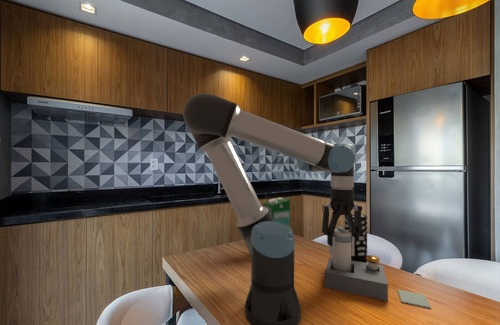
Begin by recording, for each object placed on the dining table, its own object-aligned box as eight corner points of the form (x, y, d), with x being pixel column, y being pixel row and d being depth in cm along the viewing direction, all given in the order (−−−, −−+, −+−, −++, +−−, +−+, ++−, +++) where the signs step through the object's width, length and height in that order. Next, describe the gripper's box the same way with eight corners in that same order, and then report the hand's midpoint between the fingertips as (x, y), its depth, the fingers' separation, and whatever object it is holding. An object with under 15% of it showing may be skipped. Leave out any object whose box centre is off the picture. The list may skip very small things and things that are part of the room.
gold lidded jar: (379, 280, 76) (379, 260, 76) (366, 277, 78) (366, 258, 78) (379, 275, 80) (378, 256, 80) (366, 272, 82) (366, 254, 82)
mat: (430, 308, 65) (430, 307, 65) (401, 302, 68) (401, 301, 68) (424, 296, 71) (424, 294, 71) (397, 290, 74) (397, 289, 74)
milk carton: (262, 251, 108) (262, 197, 108) (279, 248, 112) (279, 196, 112) (272, 258, 100) (272, 200, 100) (290, 255, 103) (290, 199, 104)
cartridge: (354, 278, 78) (354, 230, 78) (337, 279, 77) (337, 231, 77) (345, 270, 84) (346, 226, 84) (329, 270, 83) (329, 226, 83)
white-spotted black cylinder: (348, 259, 99) (348, 212, 99) (369, 264, 94) (369, 215, 94) (341, 265, 93) (341, 215, 93) (364, 272, 87) (364, 218, 88)
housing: (387, 301, 69) (387, 284, 69) (324, 287, 76) (324, 272, 76) (383, 280, 81) (383, 265, 81) (329, 269, 89) (329, 256, 89)
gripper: (362, 187, 85) (362, 250, 85) (311, 187, 84) (311, 251, 84) (374, 189, 78) (374, 258, 77) (319, 189, 76) (319, 259, 76)
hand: (341, 254), depth 80 cm, fingers closed on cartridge, 6 cm apart
